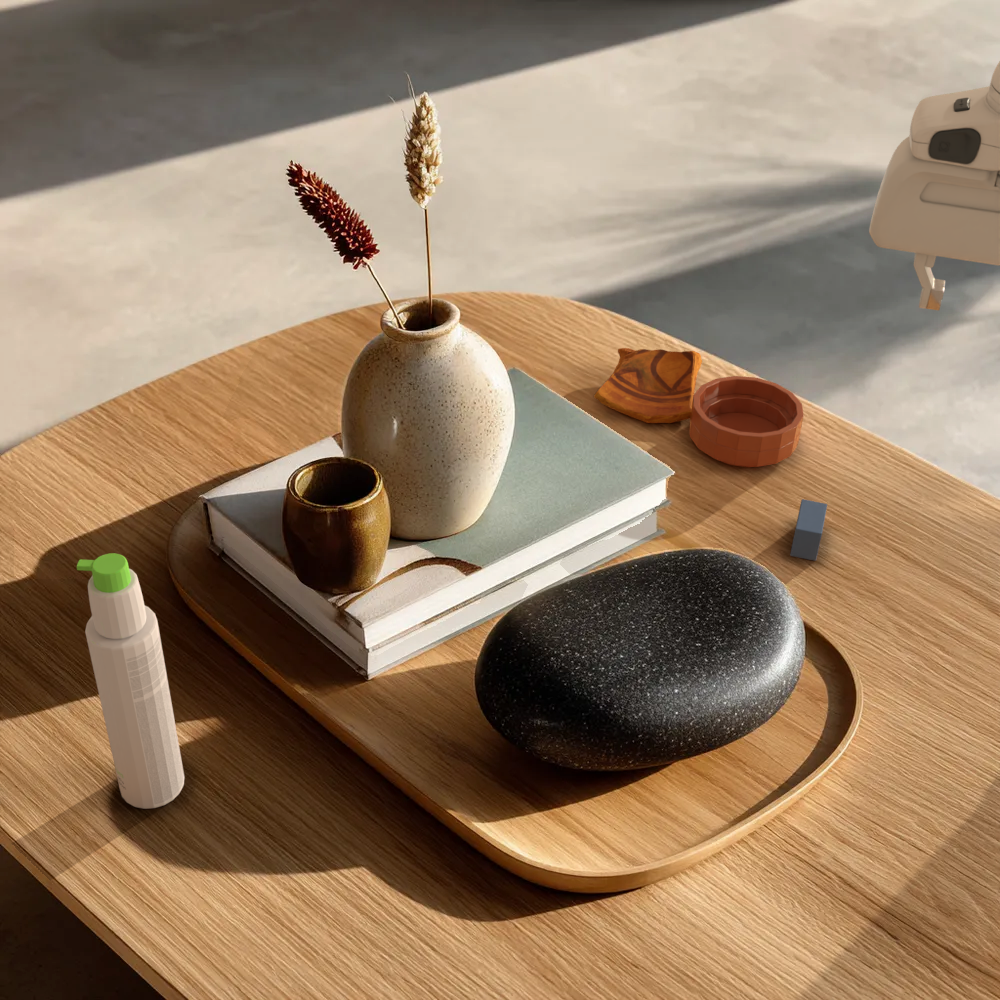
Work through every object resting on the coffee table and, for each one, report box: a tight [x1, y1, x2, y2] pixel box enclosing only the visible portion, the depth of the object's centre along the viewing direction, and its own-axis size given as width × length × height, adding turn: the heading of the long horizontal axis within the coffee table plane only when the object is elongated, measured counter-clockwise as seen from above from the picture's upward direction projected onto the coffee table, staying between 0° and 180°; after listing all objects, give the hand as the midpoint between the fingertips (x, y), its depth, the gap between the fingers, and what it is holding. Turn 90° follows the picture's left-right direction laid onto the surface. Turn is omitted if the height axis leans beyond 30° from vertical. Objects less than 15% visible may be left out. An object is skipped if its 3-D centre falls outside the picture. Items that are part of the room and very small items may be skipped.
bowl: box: [688, 375, 805, 468], centre depth 126 cm, size 10×10×4 cm
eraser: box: [789, 498, 828, 562], centre depth 114 cm, size 4×2×3 cm, turn 163°
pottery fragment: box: [593, 347, 703, 424], centre depth 132 cm, size 10×5×10 cm
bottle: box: [76, 552, 185, 810], centre depth 86 cm, size 4×4×20 cm
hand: (995, 316), depth 97 cm, fingers open, 8 cm apart
